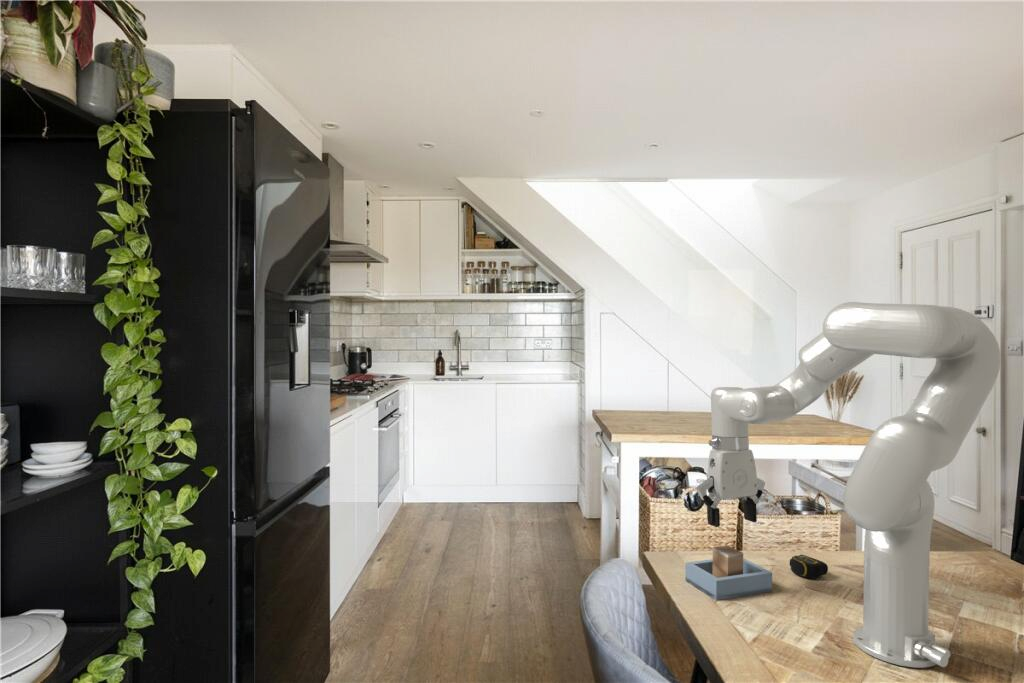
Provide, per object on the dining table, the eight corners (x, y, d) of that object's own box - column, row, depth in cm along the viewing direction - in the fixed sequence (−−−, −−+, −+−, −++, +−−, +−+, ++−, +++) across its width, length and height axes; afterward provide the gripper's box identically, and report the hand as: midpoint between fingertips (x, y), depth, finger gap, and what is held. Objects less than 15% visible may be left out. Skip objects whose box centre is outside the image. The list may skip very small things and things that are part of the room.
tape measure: (829, 578, 134) (829, 561, 134) (810, 583, 131) (810, 566, 131) (802, 567, 140) (802, 552, 140) (783, 572, 137) (783, 556, 137)
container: (772, 591, 126) (772, 572, 126) (716, 600, 121) (716, 580, 121) (738, 573, 136) (738, 555, 136) (685, 580, 131) (685, 562, 131)
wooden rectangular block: (742, 585, 127) (743, 553, 127) (727, 588, 125) (728, 555, 125) (727, 576, 131) (727, 545, 131) (712, 579, 130) (712, 547, 130)
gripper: (708, 448, 122) (710, 532, 121) (774, 443, 128) (777, 523, 127) (686, 444, 129) (688, 522, 128) (750, 439, 135) (752, 515, 134)
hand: (732, 523), depth 128 cm, fingers open, 9 cm apart
